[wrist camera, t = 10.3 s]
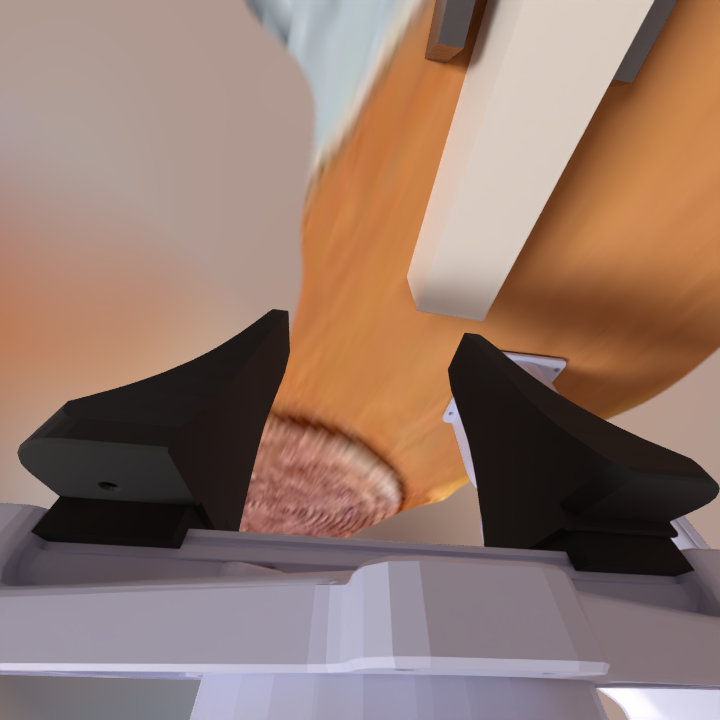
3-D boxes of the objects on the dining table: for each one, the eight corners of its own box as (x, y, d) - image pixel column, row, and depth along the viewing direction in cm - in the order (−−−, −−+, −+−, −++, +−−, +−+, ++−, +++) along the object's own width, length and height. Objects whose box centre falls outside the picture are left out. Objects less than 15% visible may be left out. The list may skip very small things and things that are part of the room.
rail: (459, 284, 20) (482, 321, 16) (406, 275, 20) (417, 311, 16) (637, -129, 10) (809, -291, 6) (534, -165, 10) (649, -363, 6)
